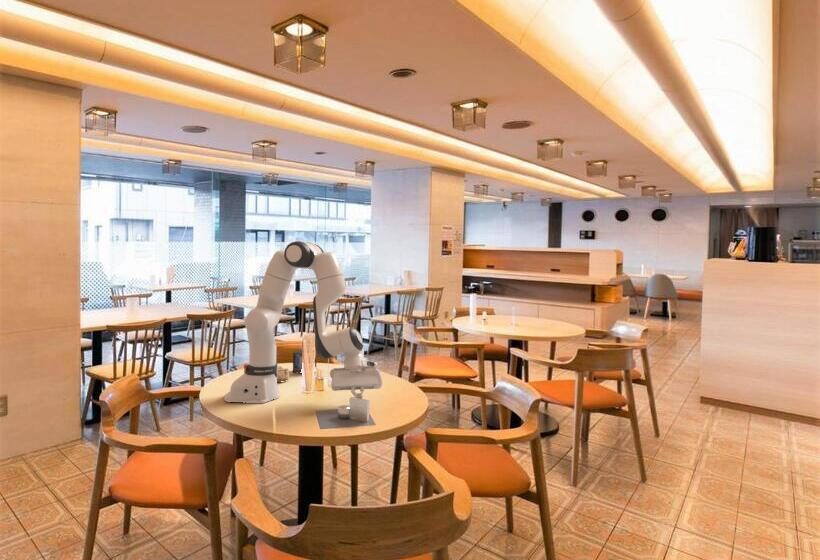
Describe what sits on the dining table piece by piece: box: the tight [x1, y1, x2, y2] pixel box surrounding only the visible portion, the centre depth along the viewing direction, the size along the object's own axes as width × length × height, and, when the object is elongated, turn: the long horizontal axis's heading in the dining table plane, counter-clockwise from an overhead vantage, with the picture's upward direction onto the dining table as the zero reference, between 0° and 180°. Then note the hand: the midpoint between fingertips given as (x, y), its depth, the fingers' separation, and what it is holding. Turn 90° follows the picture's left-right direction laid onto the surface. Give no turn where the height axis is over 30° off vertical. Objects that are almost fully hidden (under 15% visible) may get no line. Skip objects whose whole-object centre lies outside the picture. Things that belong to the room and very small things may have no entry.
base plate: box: [315, 408, 377, 430], centre depth 189 cm, size 20×20×1 cm
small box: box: [292, 349, 317, 374], centre depth 256 cm, size 11×6×10 cm, turn 70°
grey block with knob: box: [337, 396, 370, 421], centre depth 187 cm, size 12×5×8 cm, turn 66°
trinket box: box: [277, 363, 290, 382], centre depth 240 cm, size 13×15×8 cm
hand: (358, 398), depth 196 cm, fingers closed
